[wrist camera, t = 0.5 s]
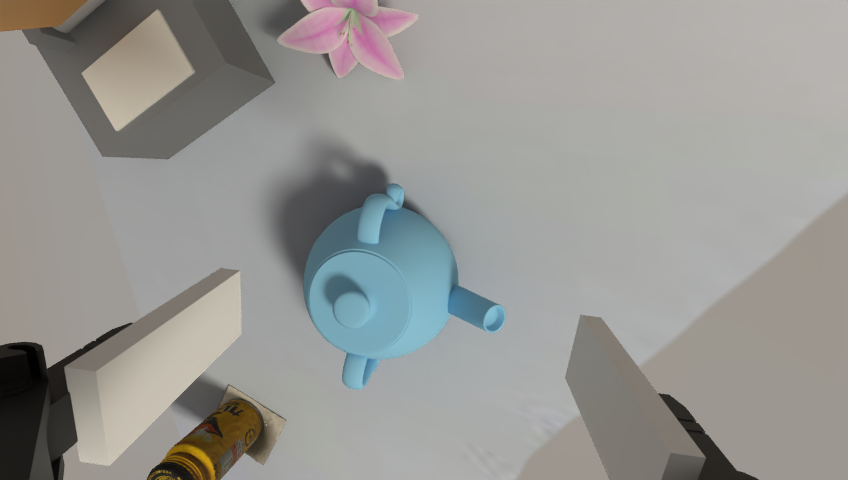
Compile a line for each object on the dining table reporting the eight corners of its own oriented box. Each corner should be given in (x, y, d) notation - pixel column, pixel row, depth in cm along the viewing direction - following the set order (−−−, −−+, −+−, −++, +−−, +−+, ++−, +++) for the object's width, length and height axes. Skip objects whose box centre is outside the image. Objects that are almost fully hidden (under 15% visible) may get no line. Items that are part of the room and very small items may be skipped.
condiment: (229, 384, 51) (149, 448, 39) (287, 419, 50) (223, 495, 38) (209, 428, 52) (126, 502, 41) (265, 463, 52) (197, 548, 40)
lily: (291, 47, 43) (260, 75, 36) (313, -84, 36) (281, -85, 29) (398, 89, 46) (390, 123, 38) (437, -27, 39) (437, -14, 31)
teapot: (332, 172, 44) (268, 172, 31) (520, 200, 41) (530, 212, 28) (317, 342, 47) (254, 401, 35) (488, 379, 44) (484, 457, 32)
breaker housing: (275, 82, 43) (202, 53, 32) (168, 159, 47) (70, 155, 36) (167, -109, 42) (53, -205, 31) (65, -15, 46) (-67, -72, 35)
